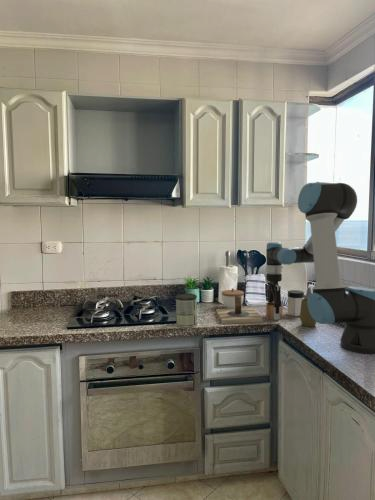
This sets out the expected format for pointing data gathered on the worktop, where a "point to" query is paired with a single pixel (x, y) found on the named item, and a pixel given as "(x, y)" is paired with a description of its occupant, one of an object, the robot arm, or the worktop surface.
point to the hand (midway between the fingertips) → (273, 316)
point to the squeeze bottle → (306, 311)
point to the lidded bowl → (231, 297)
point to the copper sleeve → (271, 310)
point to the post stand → (238, 314)
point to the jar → (295, 302)
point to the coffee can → (186, 310)
